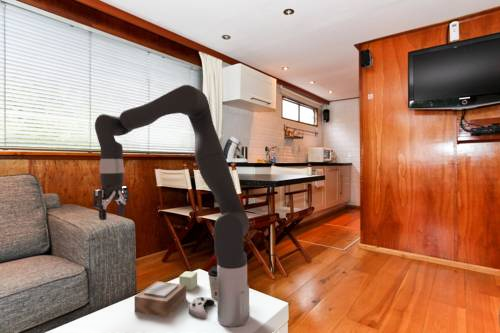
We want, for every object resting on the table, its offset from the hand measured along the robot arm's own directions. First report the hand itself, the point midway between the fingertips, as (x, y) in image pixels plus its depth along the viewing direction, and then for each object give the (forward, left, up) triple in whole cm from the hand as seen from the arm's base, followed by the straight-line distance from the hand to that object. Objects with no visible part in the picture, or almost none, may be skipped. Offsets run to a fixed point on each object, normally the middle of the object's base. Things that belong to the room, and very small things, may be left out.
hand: (112, 217), depth 97 cm
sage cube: (-21, -16, -29) cm, 39 cm away
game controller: (-33, -2, -30) cm, 45 cm away
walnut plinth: (-19, -1, -29) cm, 35 cm away
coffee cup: (-35, -12, -29) cm, 47 cm away
